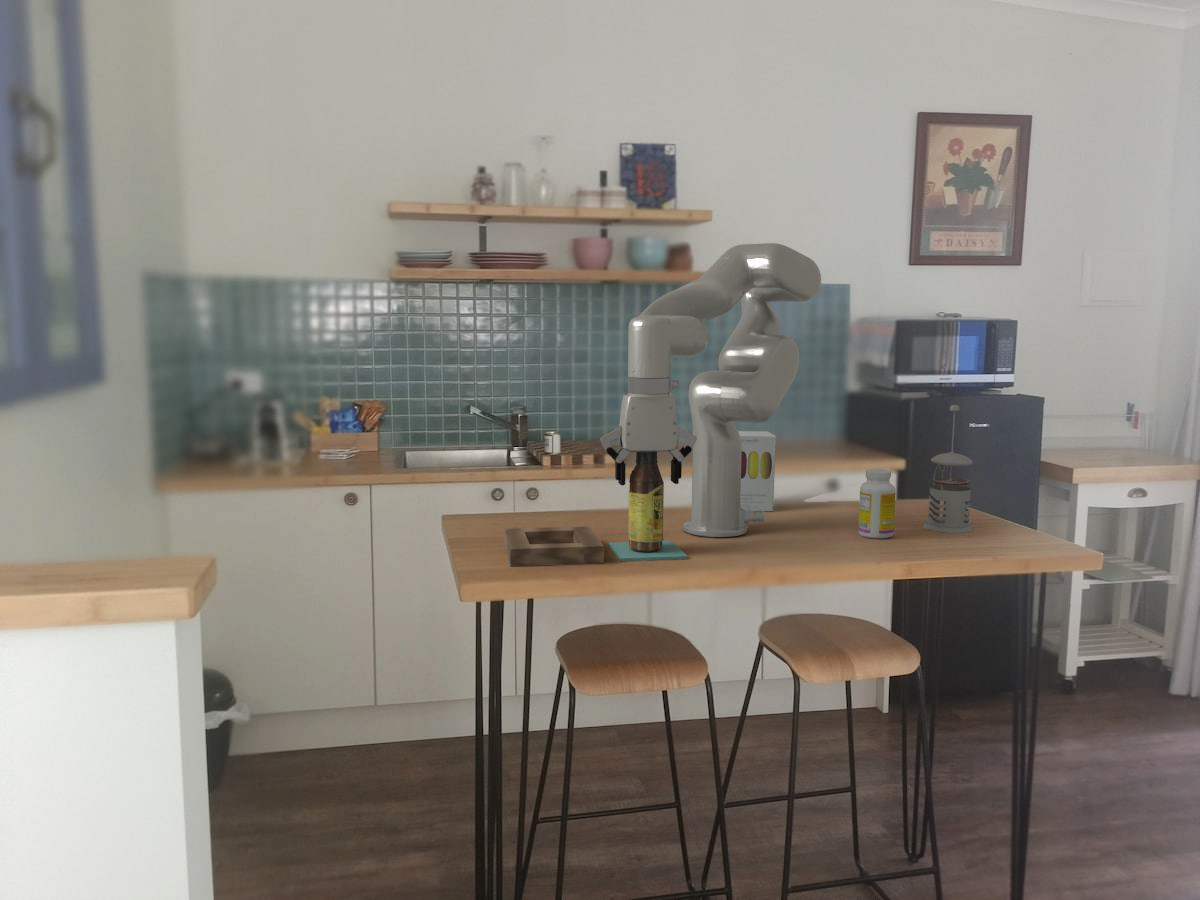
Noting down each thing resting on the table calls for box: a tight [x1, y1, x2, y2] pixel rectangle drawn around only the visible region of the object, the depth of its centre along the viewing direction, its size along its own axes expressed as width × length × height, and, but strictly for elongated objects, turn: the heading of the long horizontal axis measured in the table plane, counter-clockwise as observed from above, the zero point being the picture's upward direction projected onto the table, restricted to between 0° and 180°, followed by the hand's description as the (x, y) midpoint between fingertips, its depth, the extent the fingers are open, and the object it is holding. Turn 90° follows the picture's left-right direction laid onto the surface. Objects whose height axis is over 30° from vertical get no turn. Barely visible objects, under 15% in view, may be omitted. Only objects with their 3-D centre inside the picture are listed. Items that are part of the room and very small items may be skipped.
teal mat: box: [607, 540, 689, 562], centre depth 176 cm, size 12×12×1 cm
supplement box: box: [738, 430, 777, 513], centre depth 216 cm, size 10×9×17 cm
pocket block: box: [503, 525, 605, 567], centre depth 174 cm, size 16×16×3 cm
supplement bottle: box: [858, 468, 897, 540], centre depth 190 cm, size 7×7×13 cm
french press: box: [921, 404, 974, 534], centre depth 198 cm, size 10×12×25 cm
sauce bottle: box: [627, 452, 665, 552], centre depth 175 cm, size 7×6×20 cm
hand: (648, 483), depth 175 cm, fingers open, 9 cm apart
